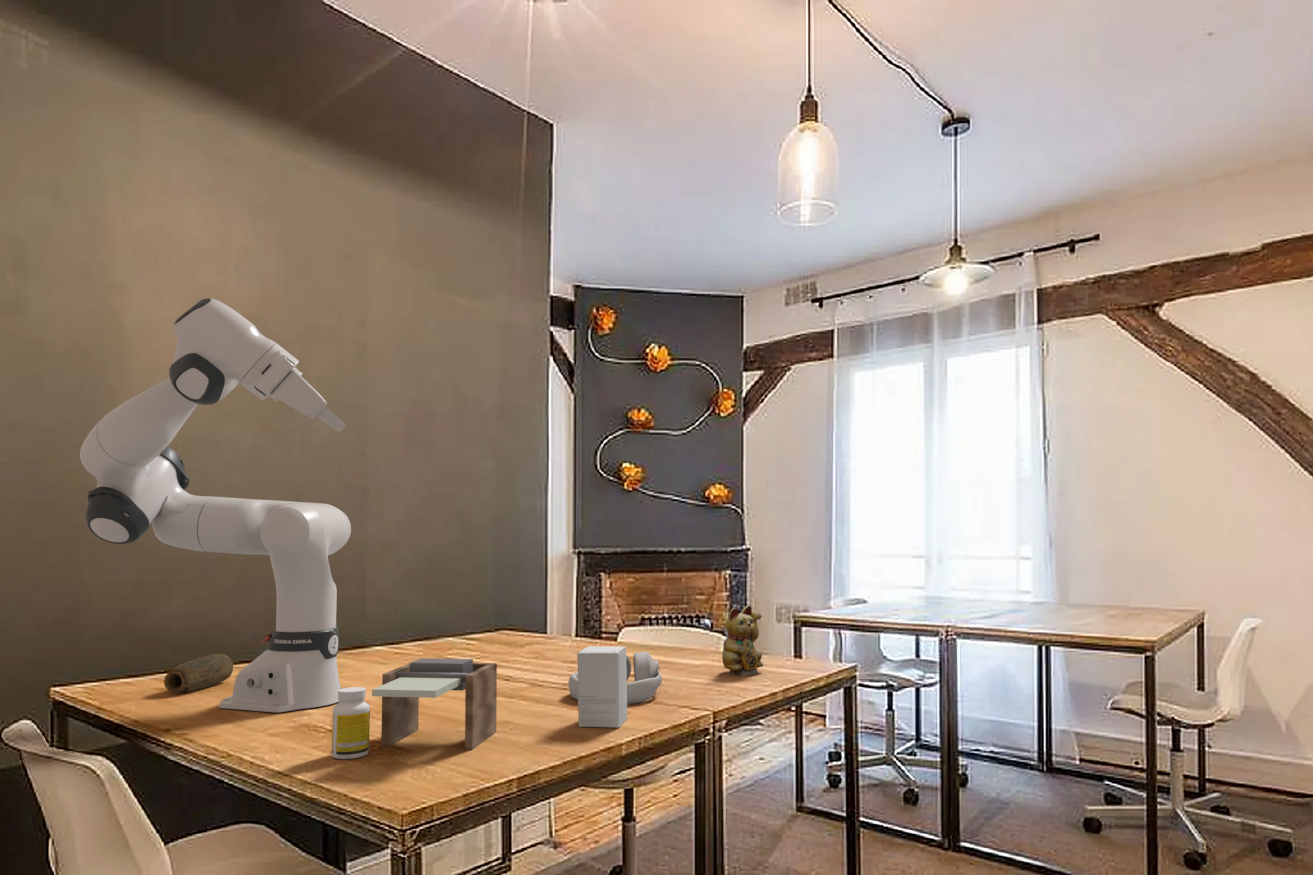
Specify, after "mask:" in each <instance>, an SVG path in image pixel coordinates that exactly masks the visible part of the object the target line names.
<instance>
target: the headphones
mask: <svg viewBox="0 0 1313 875" xmlns="http://www.w3.org/2000/svg"><path fill="white" fill-rule="evenodd" d="M654 659H655V658H653V657H652V655H650V653H649V652H648V651H643V652H642V651H641V652H639V651H638V652H635V653H633V658H632V661H633V663H632V661H631V659H630V658H629V656H628V655H627V654H626V669H627V681H628V680H629V679H630V676H631V673H632V664H633V677H634V678H633V680H634V681H632V682H627V705H632V704H633V705H634V704H639V703H644V702H646V701H648V700H650V699H651V698H652V697H653V696H654V695H655V693H656V692H657V690H658V688H660V686H661V684H662V682H663V681H662V680H663V679H662V674H661V672H660V665H659V664H660V662H659V660H654ZM567 683H568V690H569V693H570V695H571V697H573V699H574V700H577V701H578V670H577V671H575V672H574V673H571V675H569V678H568V682H567Z"/></svg>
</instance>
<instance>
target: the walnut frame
mask: <svg viewBox="0 0 1313 875" xmlns="http://www.w3.org/2000/svg"><path fill="white" fill-rule="evenodd" d="M410 663H411V662H408V663H407V664H405V665H402V666H399V667H397V668H394V669H392V670H390V671H386V672H384V673H382V678H381V679H382V681H381V682H382V683H381V684H382V685H384V684H386V683H389V682H391V681H393V680H396V673H397V672H410ZM497 666H498V664H497V663H492V662H490V663H489V662H487V663H486V662H483V663H482V662H473V672H472V673H470V674H468V675H466V687H465V689H464V691H465V695H464V696H465V699H464V701H465V707H464V708H465V711H464V718H465V719H464V722H465V724H464V730H465V731H464V749H465V750H471V751H472V750H474V749H475V748H476V747H478V746H479V745H481V744H482V743H483V742H485V741H487V739H488V738H490V737H491V736H493V735H494V734H495V733H496V732H497V694H498V693H497V685H498V684H497V679H498V678H497V677H498V676H497V675H498V674H497V673H498V672H497V671H498V667H497ZM419 699H420V697H381V735H380V736H381V742H380V743H381V745H380V747H381V748H389V747H391V746H392V745H394V744H396V743H398V742H400V741H401V740H403V739H404V738H406V737H408V736H410V735H411V734H413V733H415V732H417V731H418V730H419V715H420V714H419V710H420V708H419V707H420V706H419V703H420V702H419V701H420V700H419Z"/></svg>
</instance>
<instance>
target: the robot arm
mask: <svg viewBox="0 0 1313 875" xmlns="http://www.w3.org/2000/svg"><path fill="white" fill-rule="evenodd" d="M173 330H174V333H175V335H176V339H177V340H176V349H175V350H176V351H175V355H174V358H173V362H172V363H171V365H170V366H169V369H168V373H169V374H168V377H167V378H166V379H164V380H161V381H160V382H158V383H157V384H155V385H153V386H152V387H150V388H148V389H147V390H144V391H142V392H140V393H139V394H136V396H134V397H131V398H130V399H128V400H126V401H124V402H123V403H121V404H120V405H118V406H116V407H115V408H114V409H112V410H111V411H109V412H108V413H107V414H105V415H104V416H103V417H102V418H101V419H100V420H99V421H98V422H97V423H96V424H95V425H94V426H93V427H92V429H91V430H90V432H89V433H88V434H87V436H86V437H85V439H84V441H83V443H82V444H81V447H80V450H79V458H80V462H81V465H82V466H83V468H84V469H85V470H86V471H87V472H88V473H89V474H91V475H92V476H93V477H95V479H96V481H97V483H96V484H97V485H96V487H95V488H94V489H91V490H90V491H88V492H87V507H86V510H85V511H86V512H85V522H86V525H87V527H88V529H89V531H90V532H91V533H92V534H93V535H94V536H96V537H97V538H98V539H100V540H101V541H104V542H107V543H111V544H115V545H129V544H132V543H134V542H135V541H137V540H138V539H139V538H141V537H142V536H143V535H144V534H145V533H146V532H147V531H148V530H149V528H150V525H152V530H153V533H154V535H155V537H156V538H157V539H158V540H159V541H160V542H161V543H163V544H165V545H168V546H172V547H175V548H180V549H184V550H185V549H186V550H190V551H196V552H204V553H205V552H207V553H218V554H219V553H221V554H235V555H249V556H250V555H252V556H253V555H254V556H255V555H256V556H257V555H258V556H260V555H261V556H263V555H264V556H265V555H266V556H269V559H270V562H271V568H272V572H273V577H274V582H275V590H276V591H275V592H276V603H275V604H276V611H275V613H276V615H275V616H276V618H275V630H273V631H272V632H270V633H269V634H265V635H263V636H262V638H264V639H263V640H262V642H263V643H264V642H268V644H267V645H266V650H265V651H264V652H262V653H261V654H260V655H259V656H257V657H256V658H255V659H253V660H252V661H251V662H250V663H248V664H247V665H246V666H245V667H243V668H242V669H241V670H240V671H238V673H237V675H236V678H235V681H234V684H233V685H234V686H233V689H232V695H230V696H227V697H226V698H223V699H221V701H220V702H219V707H218V708H220V709H232V710H241V711H251V712H253V711H255V712H265V713H284V712H289V711H290V712H291V711H297V710H302V709H303V710H305V709H311V708H317V707H319V708H320V707H323V706H329V705H333V704H336V703H339V700H338V690H340V689H342V688H341V683H340V677H339V669H338V668H339V667H338V660H337V655H338V652H339V627H338V626H337V603H338V602H337V600H338V599H337V598H338V596H337V595H338V590H337V584H336V583H335V581H334V579H333V576H332V573H331V572H332V571H331V567H330V563H329V556H331V555H333V554H335V553H336V552H339V550H341V549H342V548H343V547H344V546H345V545H346V544H347V542H348V541H349V540H350V537H351V533H352V525H351V522H350V519H349V517H348V516H347V515H346V513H345V512H344V511H342V510H341V509H339V508H338V507H336V506H334V505H332V504H329V503H322V502H321V503H320V502H308V501H306V502H304V501H303V502H302V501H290V500H289V501H287V500H286V501H285V500H272V499H258V498H257V499H256V498H255V499H254V498H242V497H228V496H227V497H226V496H212V495H210V496H208V495H204V496H203V495H195V494H191V493H189V492H187V491H185V490H186V489H187V488H188V487H189V484H190V476H188V475H187V473H186V468H185V465H184V462H183V460H182V459H181V456H180V455H179V453H178V452H177V451H176V450H175V449H173V448H172V447H170V444H171V443H172V441H173V440H174V439H175V438H176V436H177V434H178V433H179V431H180V430H181V428H182V427H183V426H184V424H185V423H186V422H187V420H188V419H189V418H190V416H191V415H192V414H193V412H194V411H195V410H196V408H197V406H199V405H202V406H212V405H214V404H217V403H218V402H220V401H221V400H223V399H224V398H226V397H227V396H228V395H229V393H231V392H232V391H233V390H234V389H235V388H236V387H237V386H238V385H239V384H240V385H241V386H243V387H244V388H245V389H247V391H249V392H250V393H252V394H253V395H255V396H256V397H257V398H258V399H260V400H261V401H262V402H264V401H265V400H267V398H268V397H270V398H271V399H273V401H275V402H278V401H281V402H282V403H284V404H286V405H287V406H289V407H291V408H293V409H294V410H296V411H298V412H299V413H300V414H302V415H304V416H306V417H307V418H309V419H315V418H317V419H319V420H320V421H322V422H323V423H324V424H326V425H328V426H329V427H331V428H333V430H334V431H336V432H338V433H339V432H341V431H342V430H343V429H344V428H345V427H346V423H345V422H343V421H342V420H341V419H340V418H339V417H337V415H336V414H335V413H333V411H331V410H330V409H329V408H327V407H326V406H327V404H328V403H327V401H326V399H325V398H324V396H322V395H321V394H320V393H319V391H317V390H316V389H315V388H314V387H313V386H312V385H311V384H310V383H309V382H308V381H307V380H306V379H305V378H303V376H302V375H303V372H302V371H300V370H299V369H298V368H296V367H297V366H298V364H299V363H300V360H299V359H298V358H296V357H295V356H293V354H291V353H290V352H289V351H287V350H286V349H285V348H283V346H281V345H280V344H278V343H277V342H276V341H274V340H273V339H270V338H268V337H266V336H265V335H263V333H262V331H261V330H260V329H259V328H258V326H256V325H255V324H253V323H252V322H251V321H249V320H248V319H247V318H246V317H244V316H243V315H242V314H240V313H239V312H238V311H236V310H235V309H233V308H232V307H230V306H229V305H227V304H225V303H223V302H222V301H220V300H218V299H215V298H212V297H207V298H203V299H201V300H200V301H198V302H196V303H195V304H193V306H191V307H190V308H189V309H188V310H186V311H185V312H184V313H183V314H181V315H179V317H177V318H176V320H175V322H174V324H173Z"/></svg>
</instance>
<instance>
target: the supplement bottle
mask: <svg viewBox="0 0 1313 875" xmlns="http://www.w3.org/2000/svg"><path fill="white" fill-rule="evenodd" d="M366 692H367V691H366V687H362V686H353V687H352V686H350V687H344V688H341V689H340V690H338V700H339V702H338V703H337V704H335V705H334V706H333V707H332V723H331V724H332V725H331V726H332V727H331V729H332V730H331V757H332V758H334V759H338V760H352V759H359V758H362V757H365V756H367V755H368V754H369V752H370V721H371V719H370V718H371V717H370V716H371V711H370V710H371V709H370V708H371V707H370V704H369V703H368V702H366V701H365V698H366Z"/></svg>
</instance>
